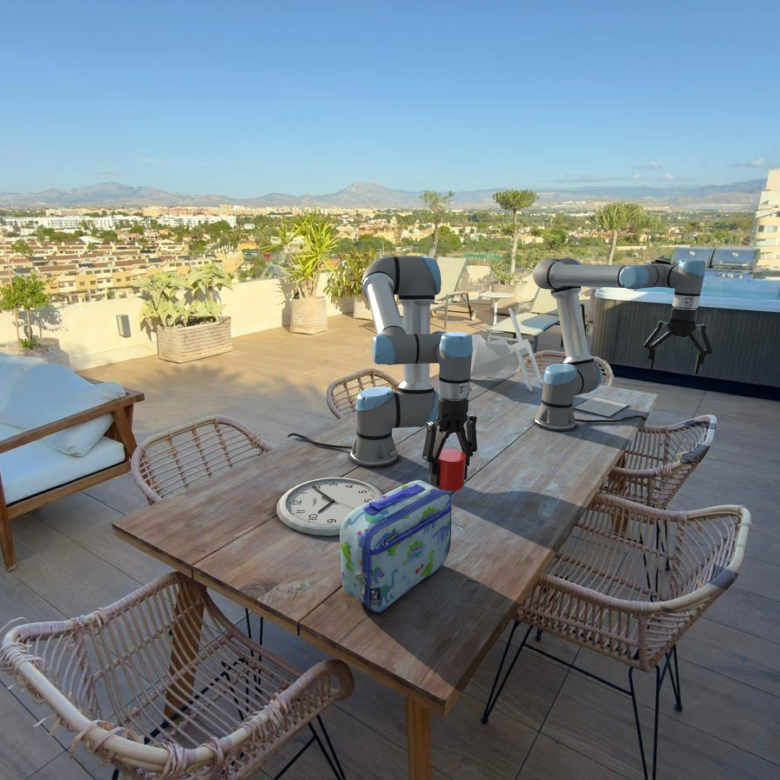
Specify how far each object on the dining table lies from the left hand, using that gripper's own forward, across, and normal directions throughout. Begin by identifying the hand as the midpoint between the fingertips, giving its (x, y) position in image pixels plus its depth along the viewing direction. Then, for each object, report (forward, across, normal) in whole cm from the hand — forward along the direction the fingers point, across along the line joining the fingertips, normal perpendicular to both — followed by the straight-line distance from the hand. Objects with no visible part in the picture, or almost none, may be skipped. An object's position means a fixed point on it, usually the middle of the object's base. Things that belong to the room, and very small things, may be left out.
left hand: (448, 481), depth 134 cm
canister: (+1, 0, 0) cm, 1 cm away
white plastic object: (+11, +91, +91) cm, 129 cm away
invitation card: (+11, +112, +46) cm, 121 cm away
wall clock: (+11, -24, +20) cm, 33 cm away
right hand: (-17, +95, +6) cm, 97 cm away
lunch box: (+11, -24, -17) cm, 31 cm away
